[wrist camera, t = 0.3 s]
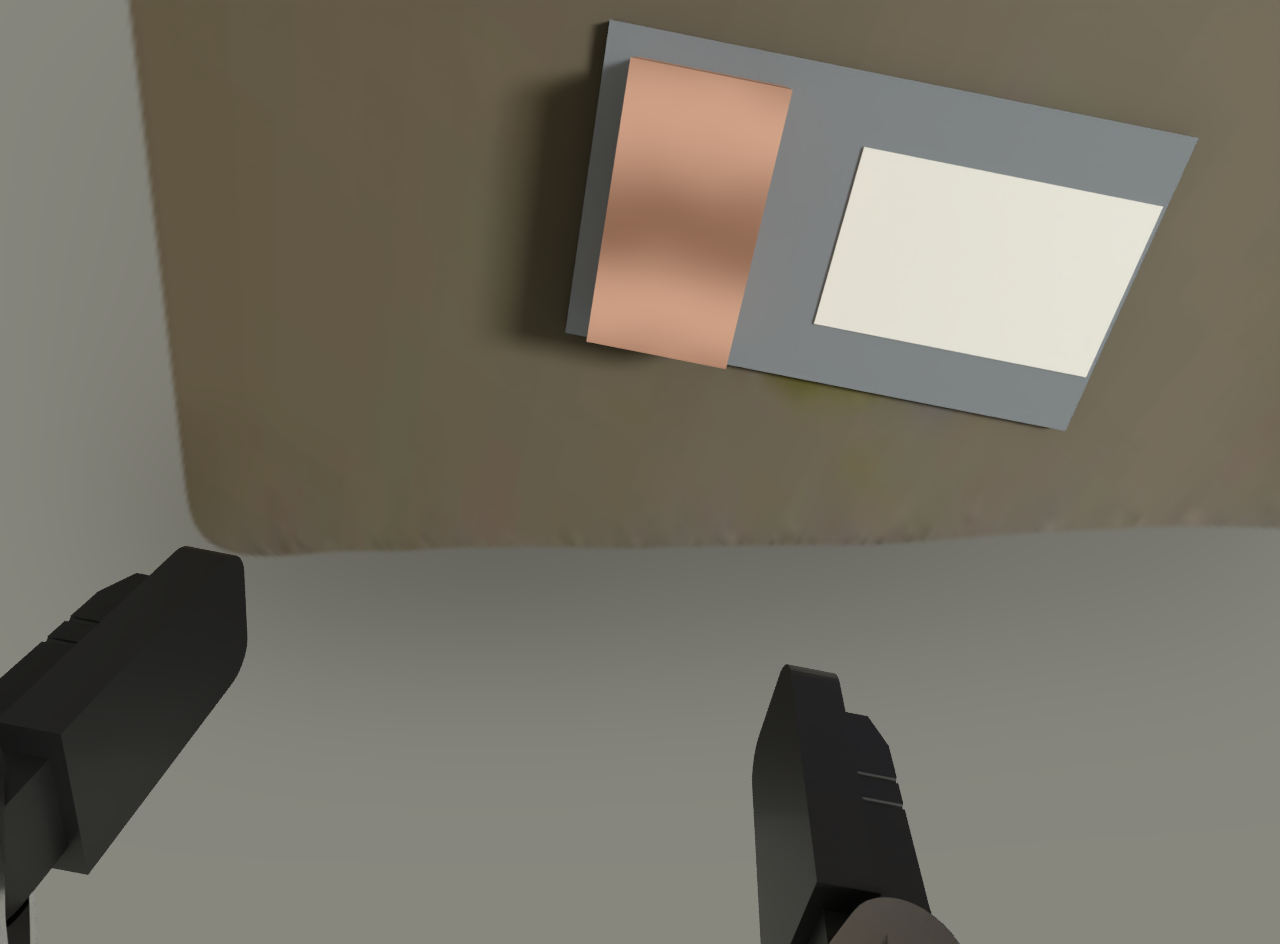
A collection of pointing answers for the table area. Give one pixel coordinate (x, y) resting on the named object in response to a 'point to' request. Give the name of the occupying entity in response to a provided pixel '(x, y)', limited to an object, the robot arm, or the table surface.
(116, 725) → the robot arm
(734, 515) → the table surface
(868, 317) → the mat
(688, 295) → the block
